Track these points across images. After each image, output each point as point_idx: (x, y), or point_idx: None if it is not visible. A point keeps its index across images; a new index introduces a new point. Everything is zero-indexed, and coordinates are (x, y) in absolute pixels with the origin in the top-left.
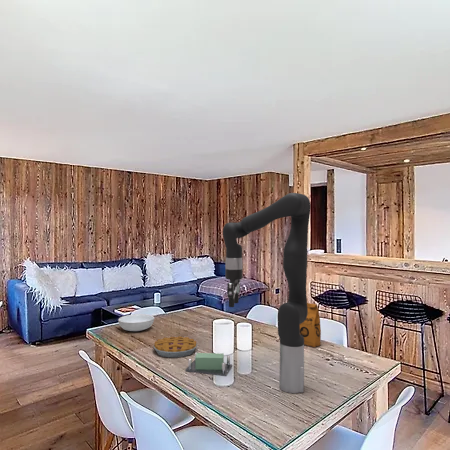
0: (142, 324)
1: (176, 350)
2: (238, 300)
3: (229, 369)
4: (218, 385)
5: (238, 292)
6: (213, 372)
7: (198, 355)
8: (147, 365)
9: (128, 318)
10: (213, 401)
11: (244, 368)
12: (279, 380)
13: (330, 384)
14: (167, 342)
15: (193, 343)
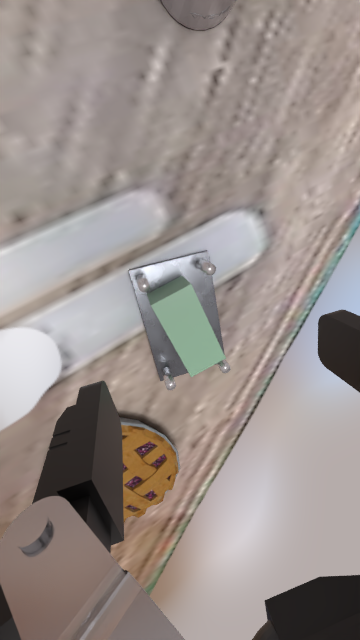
0: None
1: (163, 442)
2: (78, 404)
3: (167, 261)
4: (266, 240)
5: (78, 548)
6: (212, 290)
7: (207, 361)
8: (229, 440)
9: None
10: (345, 208)
11: (121, 224)
12: (211, 15)
13: None
14: (134, 492)
15: None
